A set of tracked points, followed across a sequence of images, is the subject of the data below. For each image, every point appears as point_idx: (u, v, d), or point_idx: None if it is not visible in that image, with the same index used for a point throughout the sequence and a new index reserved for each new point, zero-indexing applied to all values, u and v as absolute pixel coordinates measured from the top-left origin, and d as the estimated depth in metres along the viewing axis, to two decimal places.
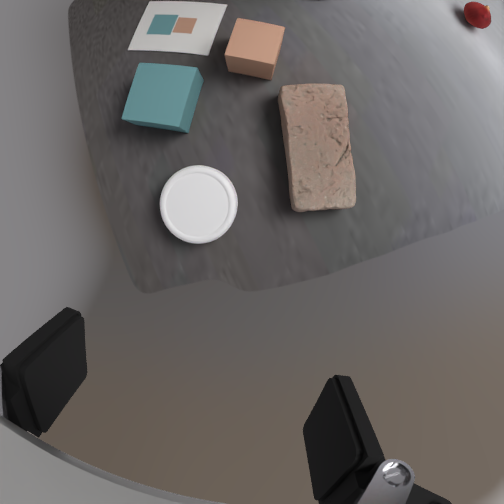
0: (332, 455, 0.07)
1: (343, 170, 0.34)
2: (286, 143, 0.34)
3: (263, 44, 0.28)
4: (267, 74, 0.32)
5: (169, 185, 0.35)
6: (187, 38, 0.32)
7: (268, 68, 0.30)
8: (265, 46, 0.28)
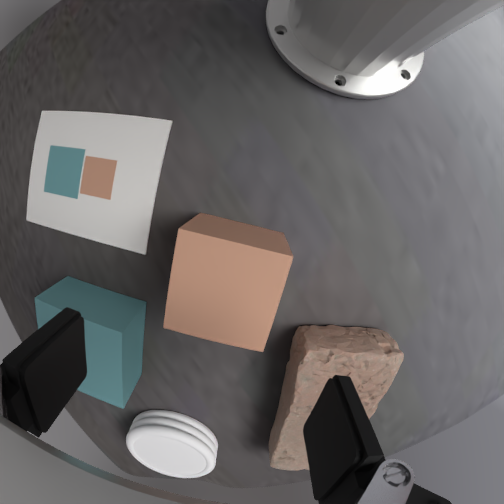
0: (332, 455, 0.07)
1: None
2: (282, 412, 0.21)
3: (240, 307, 0.16)
4: None
5: (132, 439, 0.23)
6: (106, 210, 0.20)
7: None
8: (245, 312, 0.16)
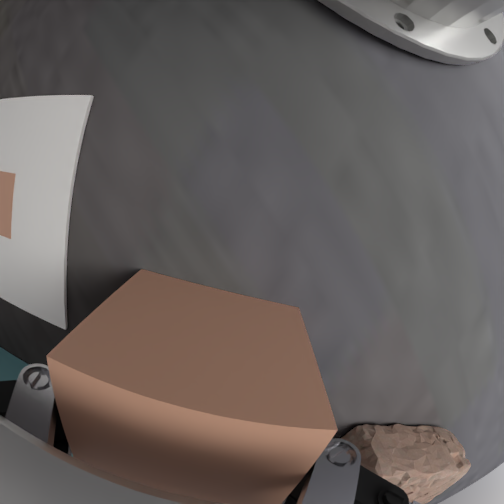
0: None
1: None
2: None
3: (212, 493, 0.05)
4: None
5: None
6: (10, 254, 0.10)
7: None
8: (223, 499, 0.06)
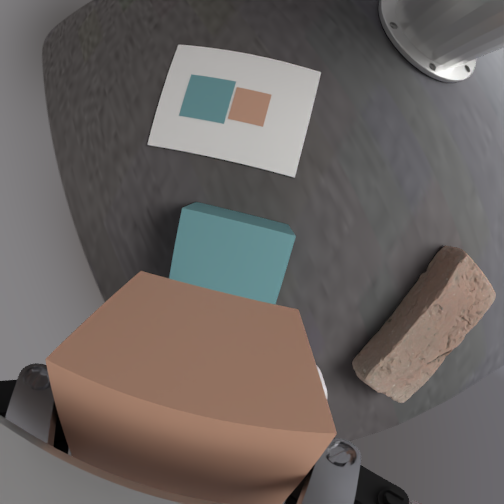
0: None
1: (427, 370, 0.24)
2: (415, 311, 0.24)
3: (211, 495, 0.05)
4: None
5: None
6: (256, 136, 0.23)
7: None
8: (222, 500, 0.05)
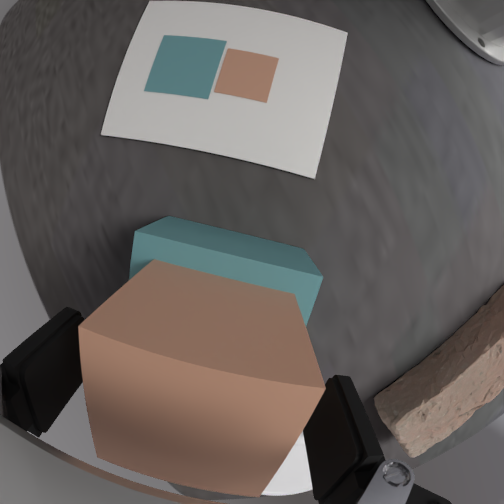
0: (332, 455, 0.07)
1: (454, 424, 0.16)
2: (474, 348, 0.15)
3: (217, 456, 0.07)
4: None
5: None
6: (257, 117, 0.15)
7: None
8: (226, 462, 0.07)
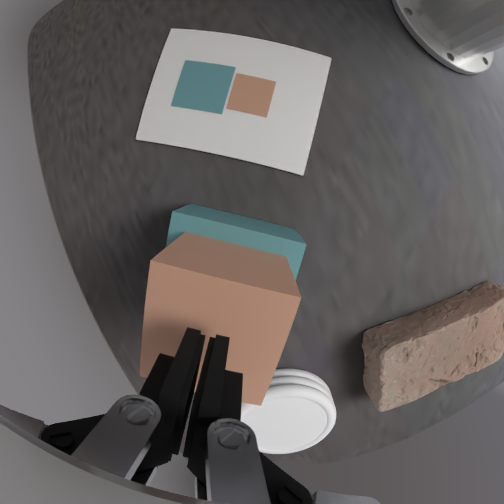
0: None
1: (423, 388, 0.21)
2: (456, 313, 0.20)
3: (232, 357, 0.12)
4: None
5: (246, 409, 0.22)
6: (259, 128, 0.20)
7: None
8: (239, 364, 0.12)
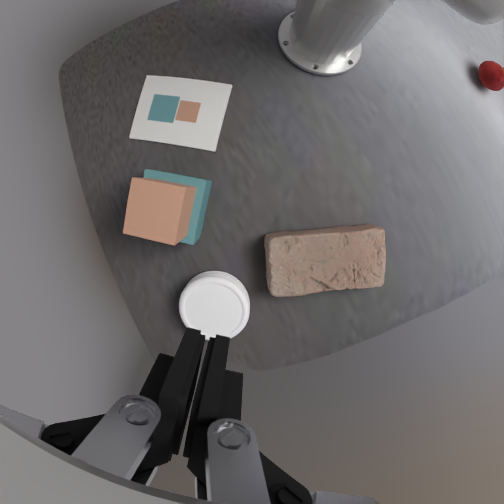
0: None
1: (306, 284, 0.38)
2: (331, 230, 0.37)
3: (161, 217, 0.28)
4: None
5: (187, 293, 0.39)
6: (192, 129, 0.37)
7: None
8: (163, 220, 0.28)
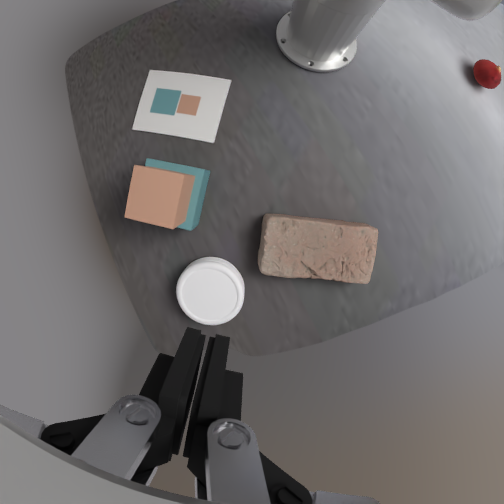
0: None
1: (295, 267, 0.39)
2: (327, 221, 0.39)
3: (160, 202, 0.30)
4: None
5: (184, 278, 0.40)
6: (192, 121, 0.38)
7: None
8: (163, 205, 0.30)
